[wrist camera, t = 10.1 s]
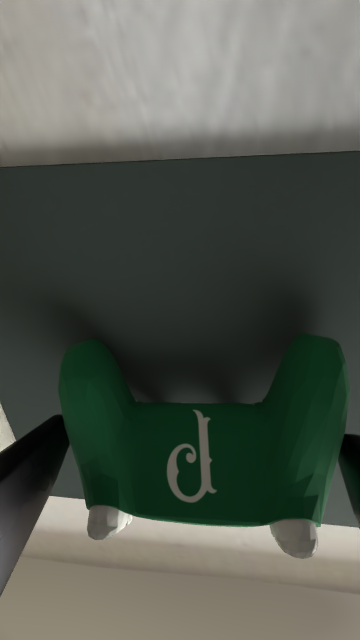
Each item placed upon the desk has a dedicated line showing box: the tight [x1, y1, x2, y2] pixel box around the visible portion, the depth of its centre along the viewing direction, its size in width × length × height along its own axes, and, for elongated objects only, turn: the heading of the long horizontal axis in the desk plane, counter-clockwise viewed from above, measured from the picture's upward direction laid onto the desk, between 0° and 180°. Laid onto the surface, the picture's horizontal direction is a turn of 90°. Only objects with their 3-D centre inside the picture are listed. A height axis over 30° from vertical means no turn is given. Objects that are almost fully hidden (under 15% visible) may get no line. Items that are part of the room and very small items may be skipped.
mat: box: [0, 151, 360, 527], centre depth 11 cm, size 18×16×1 cm
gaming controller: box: [58, 333, 350, 559], centre depth 9 cm, size 9×4×6 cm
